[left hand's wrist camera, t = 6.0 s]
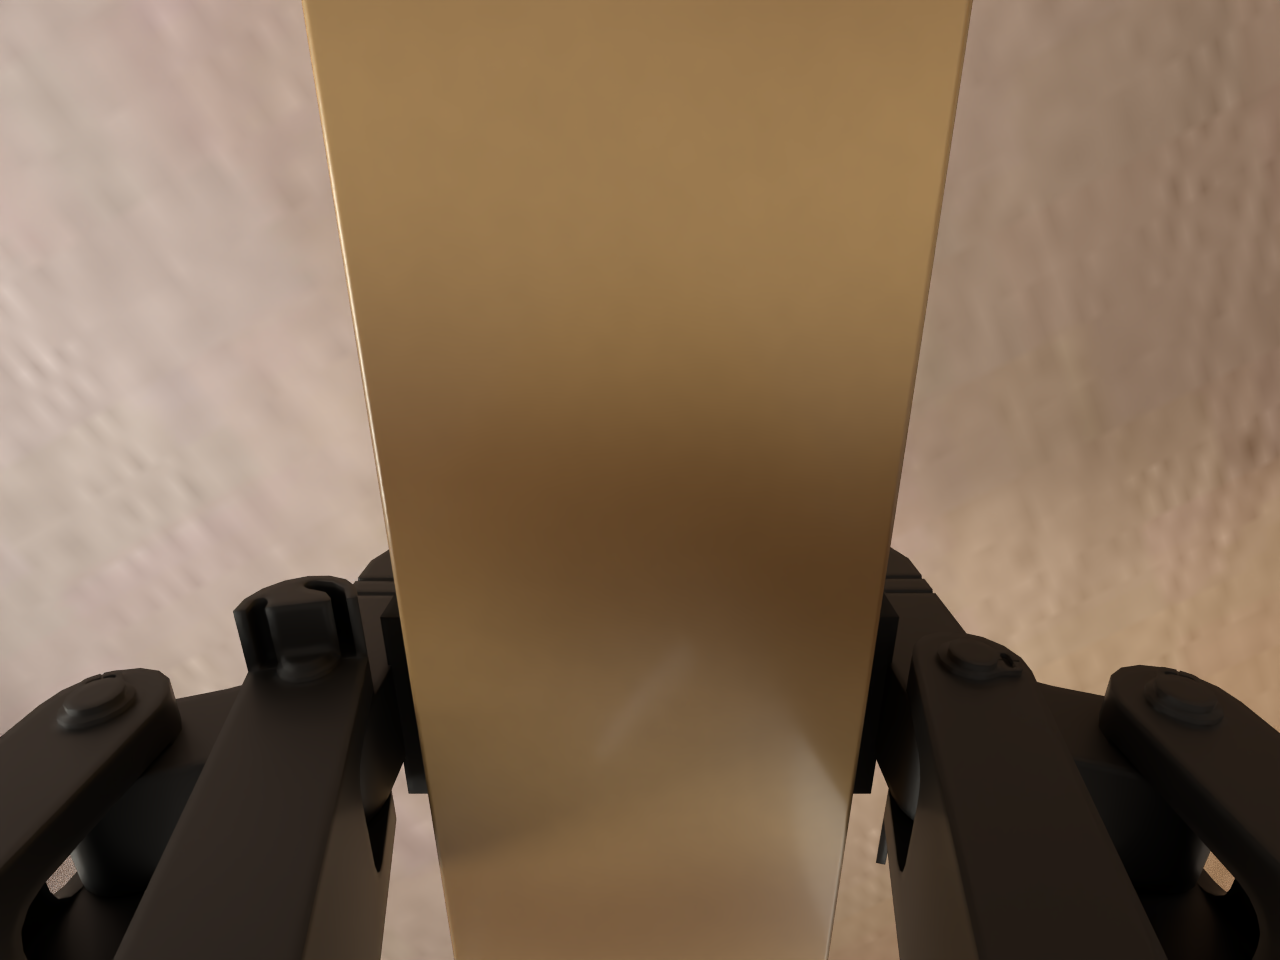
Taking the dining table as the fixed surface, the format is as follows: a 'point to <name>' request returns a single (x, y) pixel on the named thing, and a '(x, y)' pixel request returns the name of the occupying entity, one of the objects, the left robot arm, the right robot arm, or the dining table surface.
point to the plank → (639, 434)
